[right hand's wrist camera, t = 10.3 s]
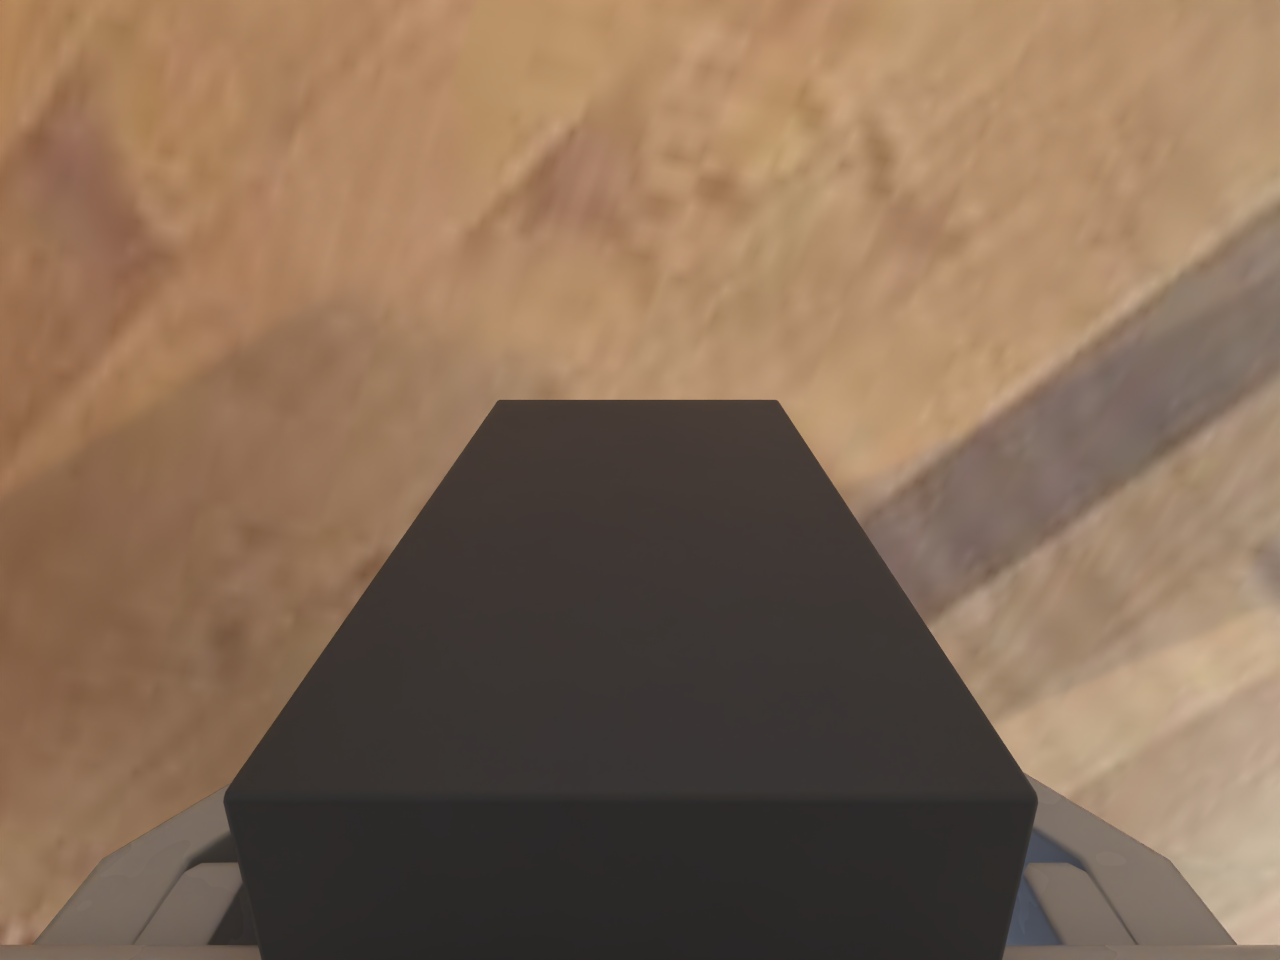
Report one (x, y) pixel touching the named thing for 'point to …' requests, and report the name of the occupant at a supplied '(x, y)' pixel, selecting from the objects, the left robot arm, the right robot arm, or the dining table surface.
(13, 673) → the dining table surface
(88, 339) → the dining table surface
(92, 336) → the dining table surface
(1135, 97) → the dining table surface
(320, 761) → the bar
